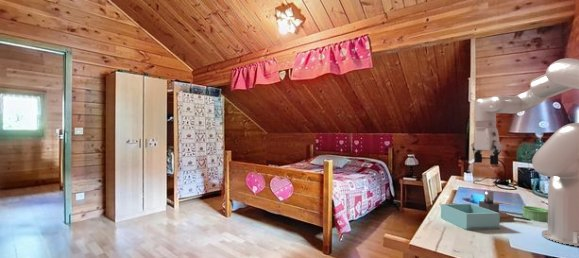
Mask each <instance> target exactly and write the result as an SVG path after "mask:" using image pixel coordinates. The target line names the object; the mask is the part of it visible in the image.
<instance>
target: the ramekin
mask: <svg viewBox="0 0 579 258" xmlns="http://www.w3.org/2000/svg"><path fill="white" fill-rule="evenodd" d="M521 209H522V215H523V218H525V219H527V220H530V221H536V222H540V223H541V222H544V223H546V222H547V223H548V208H543V207H538V206H531V205H523V207H522V208H521Z"/></svg>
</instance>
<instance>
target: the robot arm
mask: <svg viewBox="0 0 579 258" xmlns="http://www.w3.org/2000/svg"><path fill="white" fill-rule="evenodd" d="M529 88H530V89H527V91H524V92H521V93H519V94H516V95H506V94H505V95H504V94H503V95H502V94H496V95H493V96H489V97H482V98H481V97H480V98H477V99H476V100H475V104H474V106H475V107H474V108H475V115H474V116H475V126H474V127H475V131H474V135H473V136H474V137H473V139H474V140H473V143H471V146H470V147H471V149H472V151H473V155H474V156H473V157H474V158H473V159H474V160H473V161H474V162H473V163H476V164H477V163H482V162H483V154H482V152H483V151H485V152H489V153H490V155H489V165H490V166H498V165H499V156H500V153H501V151H502V148H503V145H502V144H501V143H500V136H499V131H498V128H497V114H519V113H522V112H524V111H527V110H530V109H533V108H535V107H537V106H539V105H541V104H542V103H544V102H545V101H546V100H547V99H549V98H552V97H555V96H557V95H560V94H563V93H565V92H568V91H571V90H572V89H573V90H574V89H576V90H579V59H577V58H571V57H570V58H569V57H568V58H567V57H565V58H560V59H558V60H556V61H553V62H552V63H551V64H550V65H549V66H548V67H547V68H546V70H545V74H542V75H540V76H538V77H536V78H533V79H532V80H531V81H530V83H529ZM531 162H532V163H531V164H532V168H533V169H534V171H535V172H537V173H538V174H540V176H541V175H542V176H544V177H548V178H549V177H550V178H549V181H548V188H547V189H548V191H547V210H548V221H547V230H542V231H541V236H542V235H543V236H544V238H545V239H547V240H549V239H550V241H552V240H553V242H555V241H556V243H558V242H559V244H562V243H563V245H566V244H569V245H568V246H570V245H574V246H573V247H577V246H579V122H573V123H568V124H566V125H563V126H562V127H560V128H559V129H557V130H556V131H554V133H553V134H551V136H550V137H549V138H548V139H547V140H546V141H545V142H544V143H543V144H542V146H540V147H539V149H538V150H537V151H536V152H535V153H534V155H533V156H532V161H531ZM543 236H542V237H543Z"/></svg>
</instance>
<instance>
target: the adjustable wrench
mask: <svg viewBox="0 0 579 258" xmlns="http://www.w3.org/2000/svg"><path fill="white" fill-rule="evenodd" d="M493 202H494V203H497V204H507V205H517V206H519V205H520V204H515V203H510V202H505V201H500V200H494V199H493ZM521 205H522V204H521ZM522 206H524V204H523V205H522Z"/></svg>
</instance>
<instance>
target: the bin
mask: <svg viewBox="0 0 579 258" xmlns="http://www.w3.org/2000/svg"><path fill="white" fill-rule="evenodd" d="M440 219H442V220H444V221H446V222H448V223H449V224H450V223H451V224H453V225H454V226H456V227H458V228H461V229H463V230H465V231H477V230H478V231H479V230H480V231H481V230H484V231H485V230H500V223H501V221H500V213H497V212H494V211H491V210H488V209H485V208H482V207H479V205H476V204H473V203H441V204H440Z"/></svg>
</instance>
